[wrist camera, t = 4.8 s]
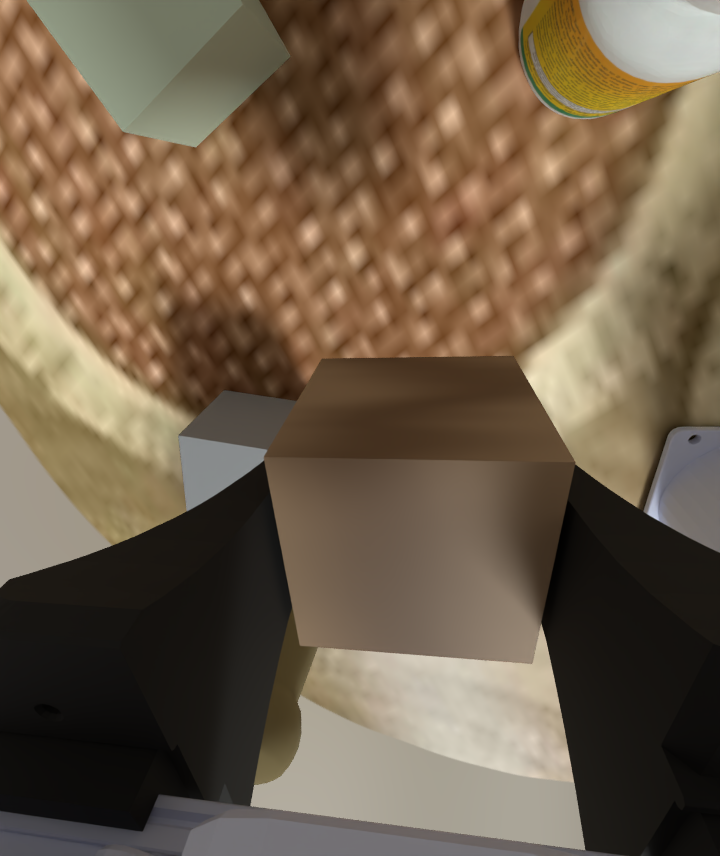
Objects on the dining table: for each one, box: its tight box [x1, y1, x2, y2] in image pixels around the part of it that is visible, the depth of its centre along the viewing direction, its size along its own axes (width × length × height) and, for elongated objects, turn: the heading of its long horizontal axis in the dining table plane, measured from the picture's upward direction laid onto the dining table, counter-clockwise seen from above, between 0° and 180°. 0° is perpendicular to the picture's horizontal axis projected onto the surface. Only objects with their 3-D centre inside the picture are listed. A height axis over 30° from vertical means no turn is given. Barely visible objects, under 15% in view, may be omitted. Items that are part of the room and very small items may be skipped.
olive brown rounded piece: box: [254, 607, 318, 785], centre depth 24 cm, size 6×6×11 cm
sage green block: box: [27, 0, 291, 147], centre depth 14 cm, size 5×5×5 cm
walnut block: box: [264, 356, 575, 664], centre depth 10 cm, size 5×5×5 cm
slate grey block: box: [178, 390, 297, 511], centre depth 22 cm, size 5×5×5 cm
